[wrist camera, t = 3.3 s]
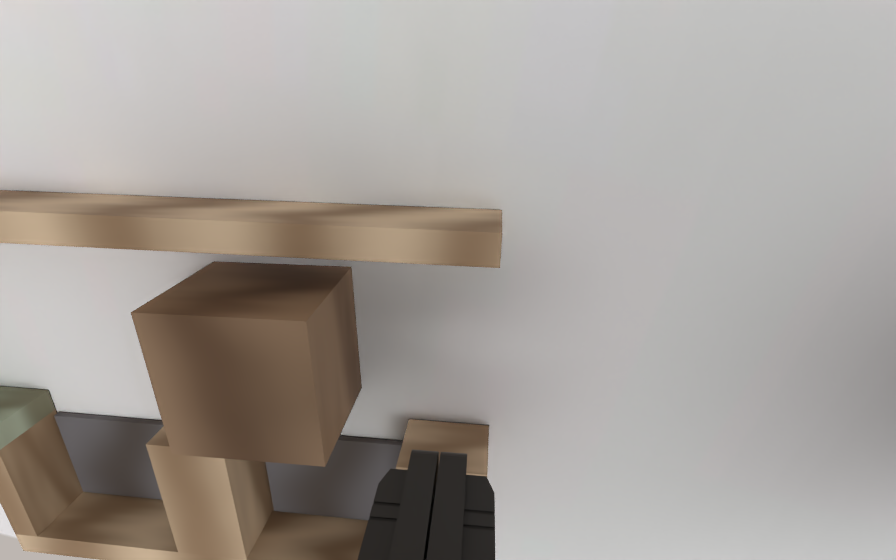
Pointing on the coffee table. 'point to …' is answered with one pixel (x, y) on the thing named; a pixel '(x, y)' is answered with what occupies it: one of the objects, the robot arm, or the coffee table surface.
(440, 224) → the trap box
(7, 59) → the coffee table surface
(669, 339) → the coffee table surface
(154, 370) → the walnut block
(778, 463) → the coffee table surface
